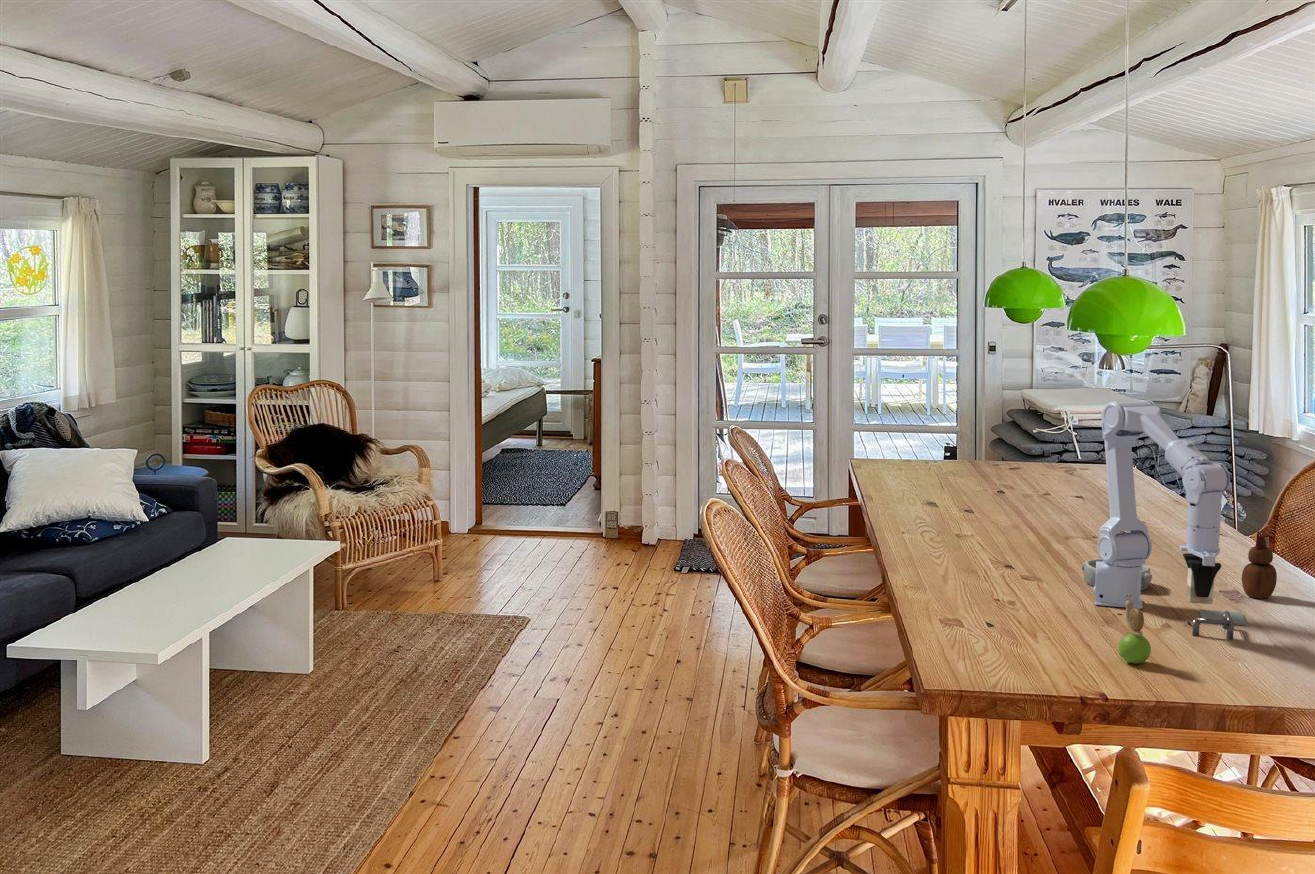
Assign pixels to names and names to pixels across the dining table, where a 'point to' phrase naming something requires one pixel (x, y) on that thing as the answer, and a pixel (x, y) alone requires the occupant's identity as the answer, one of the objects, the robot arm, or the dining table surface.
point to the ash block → (1191, 591)
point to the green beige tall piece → (1134, 637)
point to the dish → (1090, 565)
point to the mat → (1218, 615)
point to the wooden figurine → (1259, 571)
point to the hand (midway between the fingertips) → (1199, 593)
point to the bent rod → (1225, 622)
